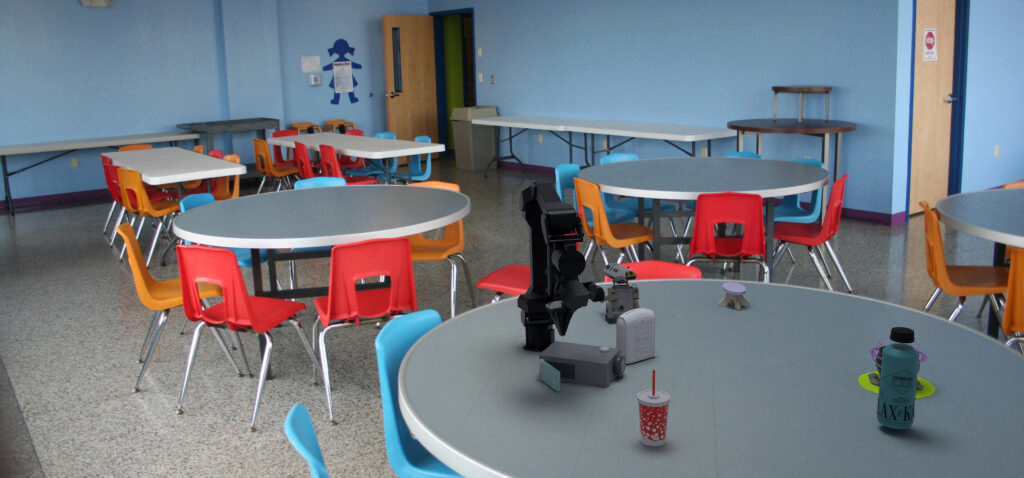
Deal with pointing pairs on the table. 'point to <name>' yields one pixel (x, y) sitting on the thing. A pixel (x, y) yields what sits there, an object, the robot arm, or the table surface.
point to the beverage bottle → (898, 380)
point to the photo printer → (636, 334)
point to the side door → (549, 375)
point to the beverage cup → (653, 415)
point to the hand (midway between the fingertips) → (562, 335)
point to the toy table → (733, 295)
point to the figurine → (620, 290)
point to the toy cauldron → (872, 378)
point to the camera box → (585, 363)
